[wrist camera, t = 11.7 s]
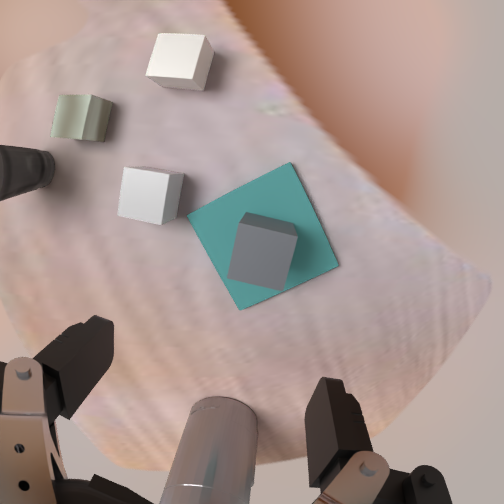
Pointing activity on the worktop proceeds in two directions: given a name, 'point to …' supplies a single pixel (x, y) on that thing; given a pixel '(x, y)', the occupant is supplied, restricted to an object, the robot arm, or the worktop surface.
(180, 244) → the worktop surface
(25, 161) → the beverage cup
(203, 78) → the offwhite block
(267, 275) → the charcoal block
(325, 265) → the teal mat
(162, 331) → the worktop surface
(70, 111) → the sage block
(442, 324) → the worktop surface
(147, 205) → the grey block
